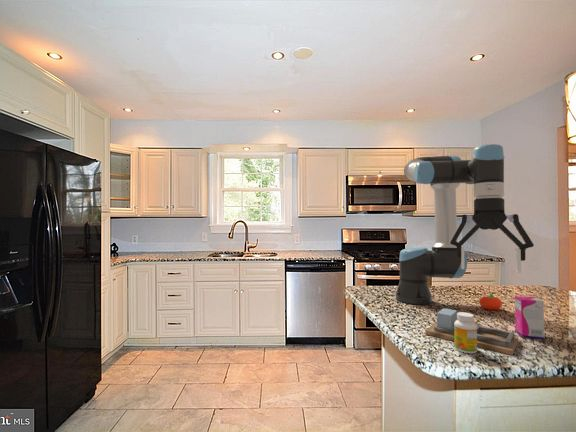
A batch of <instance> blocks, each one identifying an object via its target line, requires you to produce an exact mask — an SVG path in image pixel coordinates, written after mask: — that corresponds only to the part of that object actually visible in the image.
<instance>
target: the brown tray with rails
mask: <svg viewBox="0 0 576 432" xmlns="http://www.w3.org/2000/svg"><path fill="white" fill-rule="evenodd" d="M476 326H477V348H481V349H485V350H489V351H494V352H498V353H500V354H507V355H510V356H513V355H514V353H515V350H516V348H517V345H518V342H519V336H515V332H513V331H512V332H511V331H506V330H503V329H497V328H493V327H492V328H491V327H487V326H482V325H477V324H476ZM425 335H427V336H431V337H435V338H439V339H443V338H444V340H447V339H448V341H451V340H452V342H454V330H453V331H452V330H447V329H443V328H438V327H437V321H436V322H434V323H433V324H432V325H430V326H429V327H428V328H427V329H425Z"/></svg>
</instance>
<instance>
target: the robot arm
mask: <svg viewBox="0 0 576 432" xmlns="http://www.w3.org/2000/svg"><path fill="white" fill-rule="evenodd" d="M403 175H404V176H405V177H406V179H407V180H409V181H411V182H414V183H416V184H419V185H420V184H421V185H430V188H431V189H432V190H433V191H434V230H435V231H434V233H435V235H434V237H435V242H434V244H433V245H432V246H431V250H429V249H428V247H425V246H424V247H423V246H421V247H418V246H417V247H410V248H409V247H408V248H404V249H402V250H400V252H399V259H398V261H399V283H398V285H397V288H396V292H395V300H396V301H399V302H401V303H405V304H412V305H429V304H432V303H433V295H432V292H431V289H430V286H429V283H428V282H429V281H428V278H436V279H437V278H441V279H461V278H462V277H464V275H465V274H466V271H467V267H468V257H467V256H468V255H467V253H466V252H465V246H463V245H464V244H465V243H466V242H467V241H468V240H469V239H470V238H471V237H473V235H474V234H476V232H477V231H478V230H479V229H480V230H492V231H493V230H494V231H496V230H500V231H501V232H503V234H504V235H506V236H507V238H509V239H510V241H512V242H513V243H514V244H515V245H516V246H517V247H518V248H515V272H516V273H519V274H521V273H522V262H525V261H526V250H527V249H530V248H533V247H534V246H535V245H534V243H533V241H532V239H531V238H530V237H529V234H528V233H527V232H526V230H525V228H524V226H523V225H522V224H521V222H520V216H519V215H518V213H514V214H506V212H505V199H504V196H505V155H504V147H503V146H502V145H501V144H495V143H494V144H484V145H479V146H476V147H475V148H474V149H473V152H472V159H461V157H459V156H457V155H439V156H422V157H421V156H420V157H416V158H413V159H411V160H409V161H408V162H407V163H406V164H405V166H404V168H403ZM460 184H466V185H473V197H474V200H473V214H472V215H467V214H463V215H462V216H461V223H459V226H458V222H457V220H458V219H457V193H456V192H457V188H458V187H460ZM470 220H472V221H473V222H474V223H475V225H474V226H473V227H472V228H471V229H470V230H469V231H468V232H467V233H466V234H465V235H464V236H463V237H462V238H461V239H460V240H459V241H458V238H459V236H460V235H461V233H462V232H463V229H464V227H465V226H466V223H469V222H470ZM507 220H508V221H509V222H510V223H512V225H513V226H514V227H515V229H516V230H517V231H518V234H519V236H520V237H521V238H522V240H523V241H524V243H523V242H522V241H521V240H520V239H519V238H518V237H516V236H515V235H514V233H512V232H511V231H510V230H509V229H508V227H506V226H505V225H504V223H505V222H506V221H507ZM521 261H522V262H521Z"/></svg>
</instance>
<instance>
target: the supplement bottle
mask: <svg viewBox="0 0 576 432" xmlns="http://www.w3.org/2000/svg"><path fill="white" fill-rule="evenodd" d="M474 320H475V317H474V314H472V313H469V312H462V311H460V312H459V311H458V312H457V321H455V323H454V341H453V342H454V345H453V347H454V349H455V350H456V351H459V352H460V353H463V352H464V354H468V353H469V355H470V354H475V353H477V352H478V347H477V324H476V323H475V322H474Z"/></svg>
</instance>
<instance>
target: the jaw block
mask: <svg viewBox="0 0 576 432" xmlns="http://www.w3.org/2000/svg"><path fill="white" fill-rule="evenodd" d="M457 313H458V310H456V309H450V308H442V309H440V310H439V311H438V312H436V322H437V327H438V328H443V329H447V330H452V331H453V330H454V323H455V321H457V320H458V319H457Z"/></svg>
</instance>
